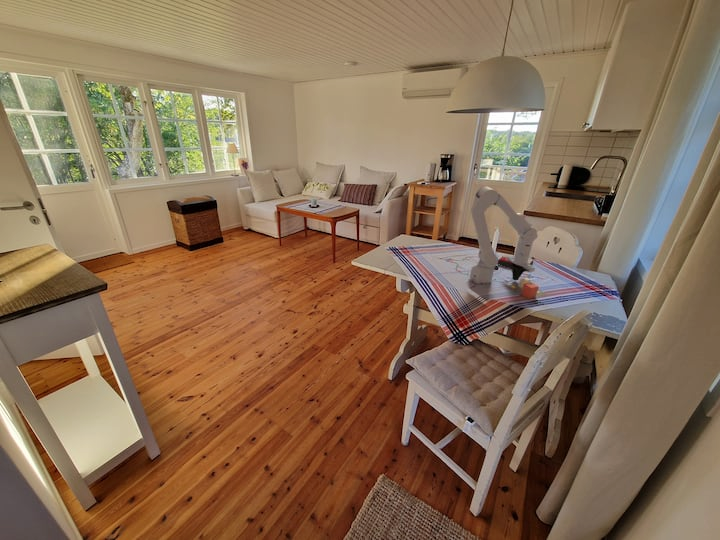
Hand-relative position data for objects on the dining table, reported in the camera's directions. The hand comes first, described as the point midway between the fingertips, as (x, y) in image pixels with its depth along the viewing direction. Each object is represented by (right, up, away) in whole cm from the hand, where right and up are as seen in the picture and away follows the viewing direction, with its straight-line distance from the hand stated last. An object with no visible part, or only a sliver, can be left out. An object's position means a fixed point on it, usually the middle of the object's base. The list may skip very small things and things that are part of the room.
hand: (515, 279), depth 136 cm
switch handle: (+2, -3, -4) cm, 5 cm away
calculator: (+11, +6, +22) cm, 25 cm away
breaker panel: (+1, -6, -7) cm, 10 cm away
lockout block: (-1, -6, -12) cm, 13 cm away
